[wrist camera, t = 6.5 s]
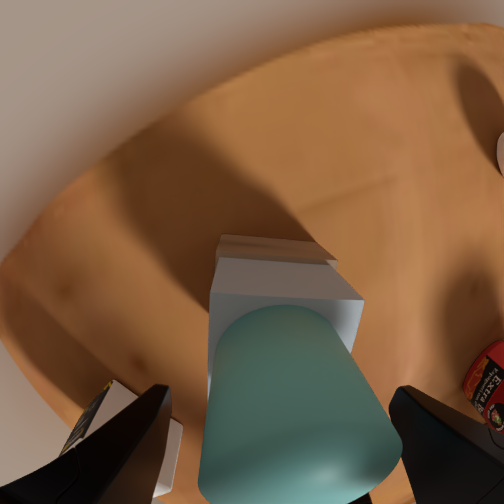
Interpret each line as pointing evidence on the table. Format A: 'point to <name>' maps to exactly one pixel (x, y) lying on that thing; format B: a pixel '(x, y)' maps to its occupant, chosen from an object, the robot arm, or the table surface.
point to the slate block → (280, 296)
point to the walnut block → (272, 250)
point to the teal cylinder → (291, 415)
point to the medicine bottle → (108, 407)
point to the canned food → (488, 385)
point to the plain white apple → (501, 153)
